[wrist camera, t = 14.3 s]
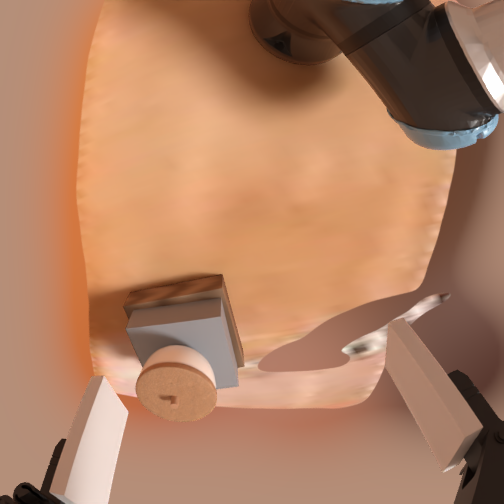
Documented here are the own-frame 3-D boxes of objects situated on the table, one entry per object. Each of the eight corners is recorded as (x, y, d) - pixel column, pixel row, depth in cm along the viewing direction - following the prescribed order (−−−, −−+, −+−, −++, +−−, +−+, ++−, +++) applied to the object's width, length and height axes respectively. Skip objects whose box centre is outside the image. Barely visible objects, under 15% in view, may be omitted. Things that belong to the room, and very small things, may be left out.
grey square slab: (221, 297, 46) (220, 316, 41) (237, 365, 51) (238, 386, 47) (133, 309, 46) (125, 328, 41) (160, 374, 51) (156, 394, 47)
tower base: (222, 272, 50) (222, 288, 45) (242, 348, 56) (244, 366, 51) (131, 290, 50) (123, 306, 45) (161, 361, 56) (157, 378, 52)
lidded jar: (220, 336, 43) (220, 381, 34) (214, 389, 46) (213, 434, 37) (145, 327, 41) (129, 369, 32) (148, 381, 45) (136, 424, 36)
